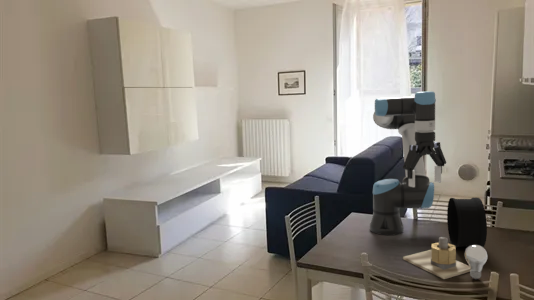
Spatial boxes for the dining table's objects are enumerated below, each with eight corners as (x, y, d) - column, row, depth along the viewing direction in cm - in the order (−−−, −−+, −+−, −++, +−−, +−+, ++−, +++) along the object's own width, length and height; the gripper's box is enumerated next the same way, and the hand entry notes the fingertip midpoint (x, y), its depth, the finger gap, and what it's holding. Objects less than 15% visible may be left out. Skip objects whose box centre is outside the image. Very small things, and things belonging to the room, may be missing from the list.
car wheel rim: (486, 256, 161) (487, 205, 158) (458, 255, 163) (458, 205, 160) (472, 237, 180) (472, 192, 178) (447, 237, 182) (447, 192, 180)
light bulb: (462, 273, 147) (463, 240, 146) (484, 275, 145) (485, 242, 143) (465, 282, 141) (466, 248, 139) (489, 284, 139) (489, 249, 137)
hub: (426, 258, 155) (426, 245, 154) (442, 253, 158) (442, 241, 157) (443, 266, 147) (443, 252, 147) (460, 261, 150) (460, 247, 150)
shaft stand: (403, 259, 162) (402, 231, 160) (430, 252, 168) (430, 225, 166) (444, 279, 144) (444, 248, 142) (473, 270, 149) (473, 240, 148)
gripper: (406, 134, 157) (407, 190, 159) (456, 129, 166) (455, 181, 169) (393, 133, 163) (393, 186, 166) (441, 128, 173) (441, 178, 176)
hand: (425, 184), depth 168 cm, fingers open, 13 cm apart
